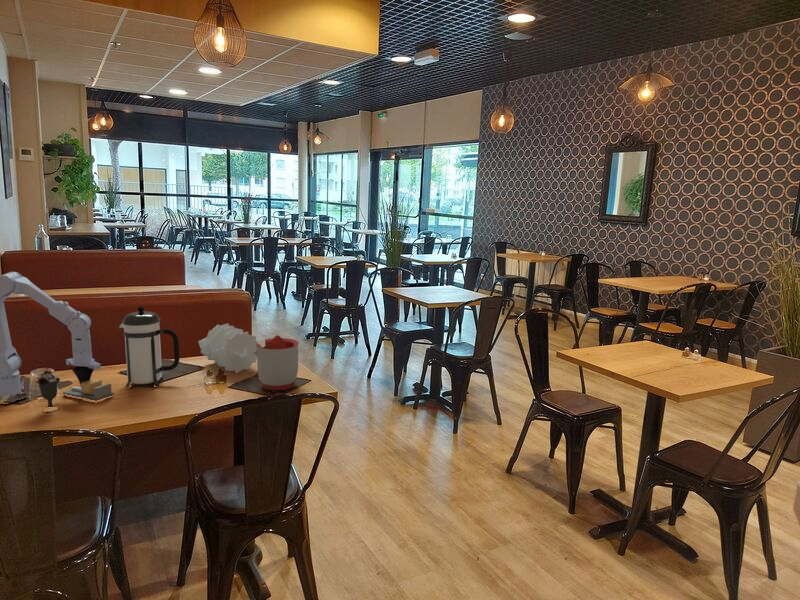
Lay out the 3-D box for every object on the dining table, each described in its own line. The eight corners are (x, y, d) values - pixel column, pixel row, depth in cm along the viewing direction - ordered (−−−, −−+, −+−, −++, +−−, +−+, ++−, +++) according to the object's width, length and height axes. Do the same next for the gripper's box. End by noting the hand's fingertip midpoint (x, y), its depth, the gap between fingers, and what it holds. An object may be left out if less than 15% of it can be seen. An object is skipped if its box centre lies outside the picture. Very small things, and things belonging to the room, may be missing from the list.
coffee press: (137, 393, 202) (132, 312, 196) (116, 384, 211) (110, 306, 206) (181, 382, 215) (178, 305, 210) (159, 373, 225) (155, 300, 219)
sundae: (57, 404, 189) (53, 361, 187) (65, 409, 185) (61, 366, 183) (35, 409, 184) (31, 366, 182) (43, 415, 180) (39, 370, 178)
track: (63, 396, 197) (62, 382, 196) (81, 390, 204) (80, 377, 203) (96, 403, 191) (95, 389, 191) (113, 396, 198) (112, 383, 197)
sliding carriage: (81, 393, 195) (80, 382, 194) (94, 389, 200) (93, 378, 199) (89, 395, 194) (89, 384, 193) (102, 391, 198) (101, 380, 197)
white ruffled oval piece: (227, 367, 248) (254, 379, 229) (190, 357, 236) (215, 368, 217) (242, 328, 250) (270, 336, 232) (206, 316, 239) (232, 323, 220)
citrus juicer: (267, 377, 223) (266, 328, 220) (306, 382, 218) (306, 332, 214) (244, 389, 209) (243, 337, 205) (285, 395, 203) (284, 342, 199)
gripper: (107, 349, 196) (109, 386, 199) (77, 344, 201) (80, 380, 204) (89, 354, 190) (92, 392, 192) (59, 348, 195) (62, 386, 197)
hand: (85, 386), depth 198 cm, fingers closed
